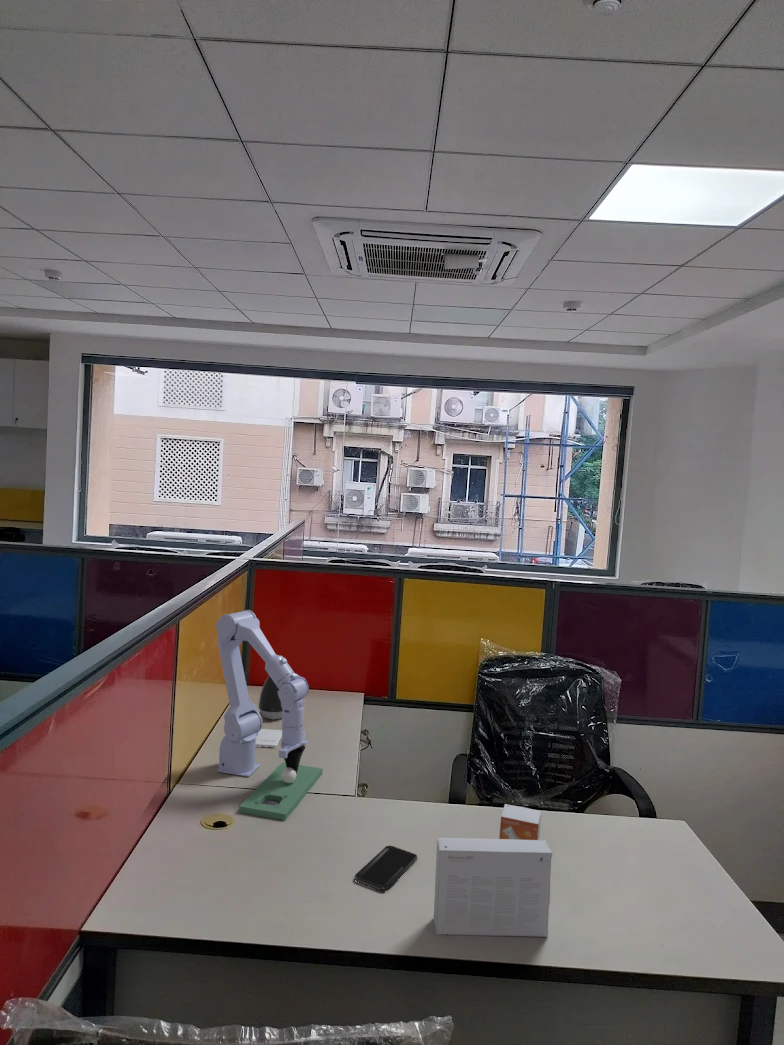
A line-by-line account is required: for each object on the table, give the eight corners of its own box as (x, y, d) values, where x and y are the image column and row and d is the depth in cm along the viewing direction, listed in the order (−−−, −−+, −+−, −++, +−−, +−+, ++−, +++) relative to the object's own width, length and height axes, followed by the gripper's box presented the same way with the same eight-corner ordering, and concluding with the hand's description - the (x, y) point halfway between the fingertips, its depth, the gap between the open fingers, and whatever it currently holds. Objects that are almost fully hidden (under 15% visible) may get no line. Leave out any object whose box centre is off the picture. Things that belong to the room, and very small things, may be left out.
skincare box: (541, 918, 129) (546, 839, 128) (548, 938, 123) (554, 855, 122) (432, 915, 128) (436, 835, 127) (434, 935, 122) (439, 851, 121)
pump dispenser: (290, 722, 224) (292, 677, 223) (258, 722, 222) (260, 678, 221) (288, 711, 234) (290, 669, 233) (257, 712, 232) (259, 669, 231)
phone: (352, 877, 138) (388, 844, 151) (352, 882, 138) (387, 849, 151) (385, 890, 134) (419, 855, 147) (385, 895, 134) (419, 860, 147)
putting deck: (239, 812, 163) (239, 806, 163) (282, 767, 189) (282, 762, 189) (285, 820, 160) (285, 814, 160) (322, 773, 186) (322, 768, 186)
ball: (283, 775, 179) (279, 786, 176) (283, 763, 178) (279, 774, 174) (297, 776, 179) (294, 787, 175) (297, 765, 178) (294, 775, 174)
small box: (496, 875, 142) (500, 816, 141) (500, 859, 148) (504, 802, 147) (534, 884, 140) (539, 823, 139) (537, 867, 146) (541, 810, 145)
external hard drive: (284, 735, 215) (276, 750, 202) (258, 733, 215) (249, 748, 202) (284, 730, 214) (276, 745, 202) (258, 728, 215) (249, 743, 202)
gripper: (297, 735, 169) (296, 787, 170) (316, 716, 183) (315, 764, 184) (271, 732, 171) (270, 784, 172) (292, 714, 185) (291, 762, 186)
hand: (292, 774), depth 178 cm, fingers closed, pressing on ball
